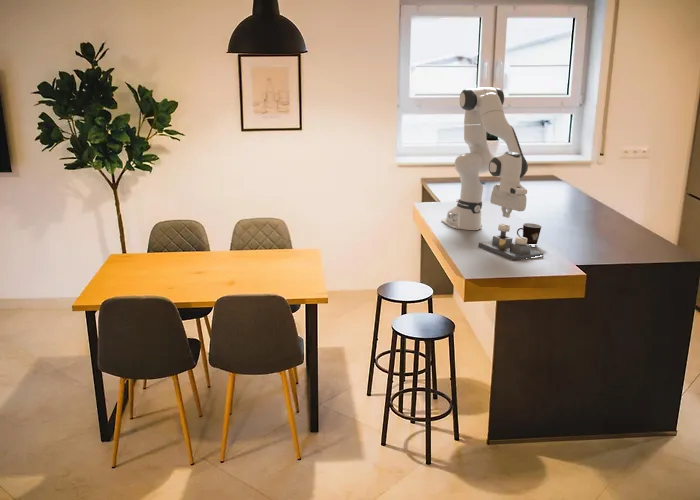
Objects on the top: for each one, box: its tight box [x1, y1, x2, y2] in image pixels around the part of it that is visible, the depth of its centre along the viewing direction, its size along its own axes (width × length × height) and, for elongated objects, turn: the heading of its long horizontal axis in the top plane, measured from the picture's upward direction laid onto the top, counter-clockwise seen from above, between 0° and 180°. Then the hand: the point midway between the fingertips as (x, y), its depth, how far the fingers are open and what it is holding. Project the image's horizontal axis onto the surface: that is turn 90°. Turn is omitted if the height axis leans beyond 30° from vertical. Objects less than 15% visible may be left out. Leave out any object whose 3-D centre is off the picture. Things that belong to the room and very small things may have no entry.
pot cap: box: [499, 238, 506, 250], centre depth 331 cm, size 3×3×5 cm
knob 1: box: [497, 223, 511, 238], centre depth 337 cm, size 5×5×6 cm
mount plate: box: [477, 234, 544, 262], centre depth 334 cm, size 24×18×6 cm
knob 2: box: [514, 236, 527, 245], centre depth 328 cm, size 5×5×6 cm
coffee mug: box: [516, 222, 542, 245], centre depth 348 cm, size 12×9×10 cm
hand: (505, 217), depth 335 cm, fingers closed
